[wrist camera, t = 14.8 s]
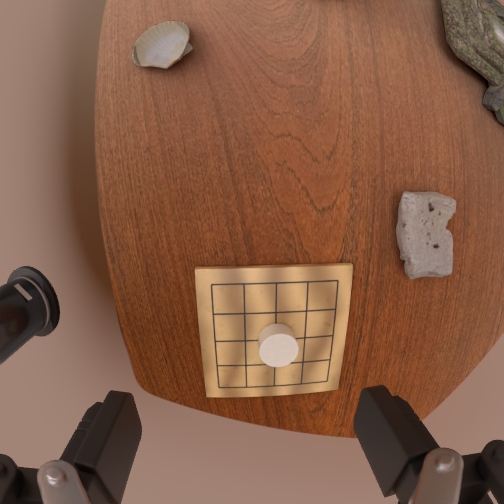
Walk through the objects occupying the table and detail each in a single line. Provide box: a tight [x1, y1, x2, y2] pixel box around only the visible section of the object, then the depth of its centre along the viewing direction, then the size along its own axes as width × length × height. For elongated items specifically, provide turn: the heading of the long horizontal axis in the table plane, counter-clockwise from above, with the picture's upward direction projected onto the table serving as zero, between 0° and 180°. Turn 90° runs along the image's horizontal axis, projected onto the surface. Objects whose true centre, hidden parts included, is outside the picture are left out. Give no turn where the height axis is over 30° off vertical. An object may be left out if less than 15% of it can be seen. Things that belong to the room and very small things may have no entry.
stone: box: [396, 191, 456, 279], centre depth 35 cm, size 13×6×10 cm
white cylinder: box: [258, 323, 299, 367], centre depth 37 cm, size 5×5×3 cm
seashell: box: [132, 20, 193, 68], centre depth 29 cm, size 8×3×8 cm
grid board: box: [195, 263, 353, 397], centre depth 39 cm, size 20×20×1 cm
